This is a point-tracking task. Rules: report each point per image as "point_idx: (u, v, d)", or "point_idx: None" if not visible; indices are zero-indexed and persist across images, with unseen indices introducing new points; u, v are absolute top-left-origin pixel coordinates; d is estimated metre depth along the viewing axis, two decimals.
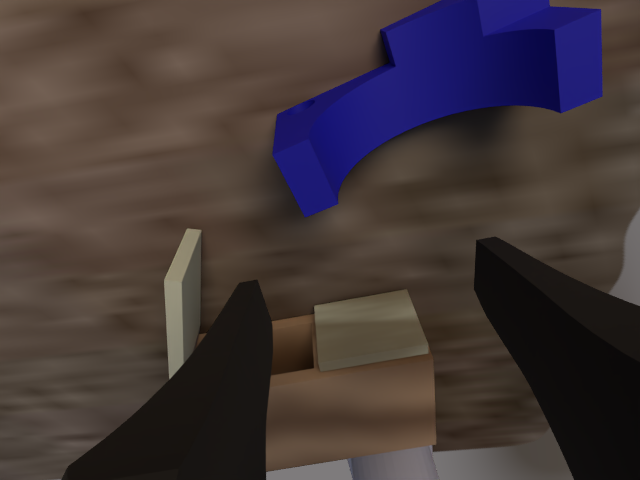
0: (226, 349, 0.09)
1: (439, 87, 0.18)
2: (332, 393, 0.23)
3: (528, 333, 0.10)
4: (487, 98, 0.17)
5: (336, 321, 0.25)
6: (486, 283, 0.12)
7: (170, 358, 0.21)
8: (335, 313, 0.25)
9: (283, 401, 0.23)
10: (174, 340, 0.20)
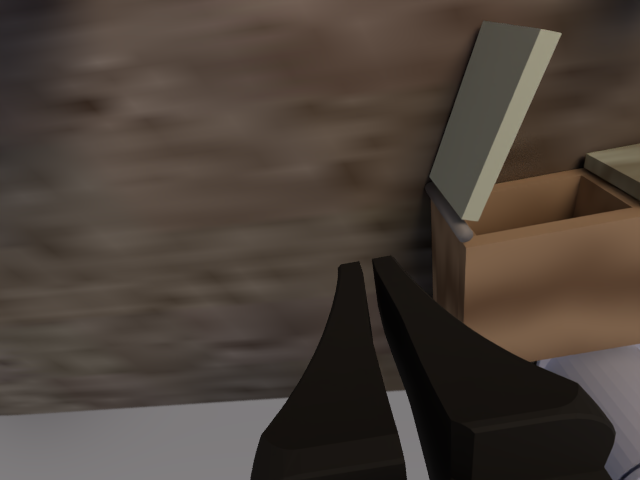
0: (362, 325, 0.09)
1: None
2: None
3: (402, 354, 0.10)
4: None
5: (637, 161, 0.20)
6: (380, 302, 0.12)
7: (482, 174, 0.16)
8: (626, 155, 0.20)
9: (589, 251, 0.18)
10: (502, 142, 0.16)
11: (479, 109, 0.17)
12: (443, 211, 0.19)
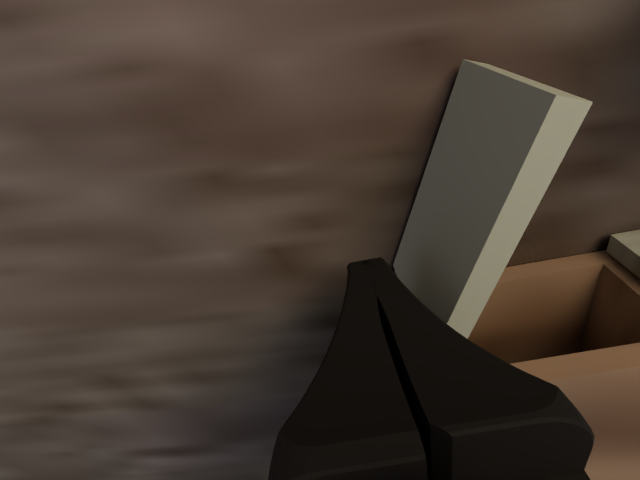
0: (374, 323, 0.09)
1: None
2: None
3: None
4: None
5: None
6: None
7: (459, 307, 0.10)
8: None
9: (620, 397, 0.12)
10: (489, 265, 0.10)
11: (456, 197, 0.11)
12: None
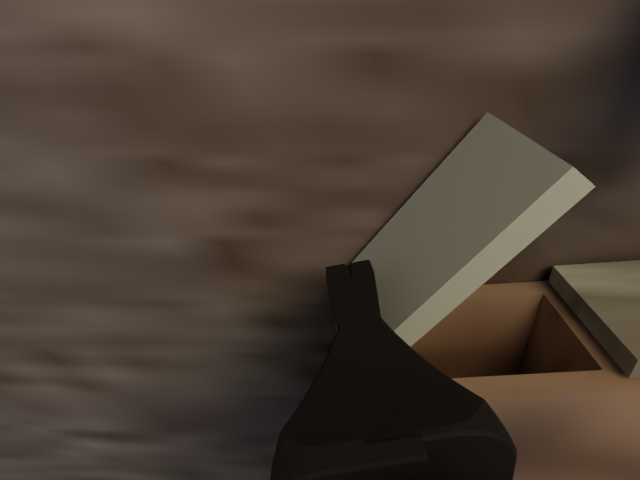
0: (376, 323, 0.09)
1: None
2: (628, 420, 0.12)
3: None
4: None
5: (618, 293, 0.14)
6: None
7: (406, 324, 0.11)
8: (604, 280, 0.15)
9: (534, 425, 0.13)
10: (450, 294, 0.10)
11: (438, 227, 0.11)
12: None
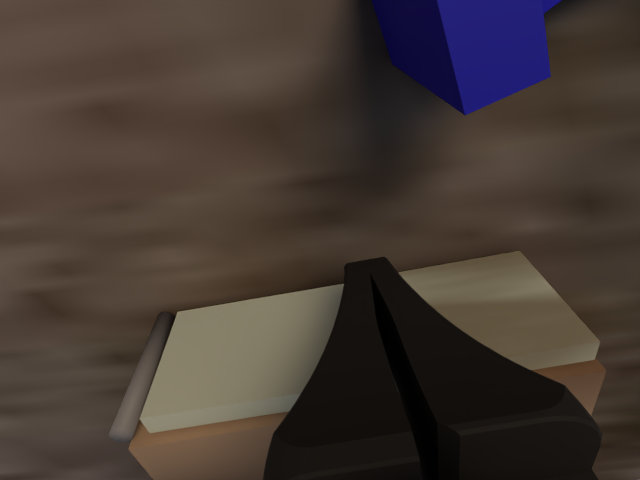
0: (371, 324, 0.09)
1: None
2: None
3: (394, 356, 0.10)
4: None
5: None
6: (373, 303, 0.12)
7: (208, 410, 0.12)
8: None
9: None
10: (255, 407, 0.12)
11: (278, 345, 0.14)
12: (140, 371, 0.14)
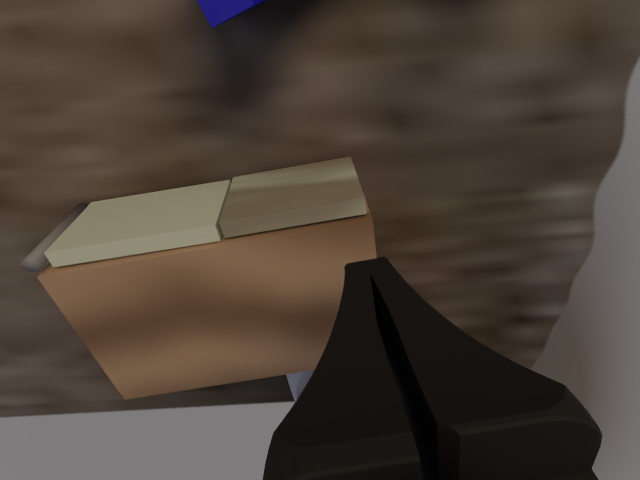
0: (371, 324, 0.09)
1: None
2: (242, 271, 0.18)
3: (394, 356, 0.10)
4: None
5: (255, 187, 0.19)
6: (373, 303, 0.12)
7: (93, 247, 0.17)
8: (256, 181, 0.20)
9: (178, 281, 0.18)
10: (127, 246, 0.17)
11: (155, 213, 0.18)
12: (53, 232, 0.19)
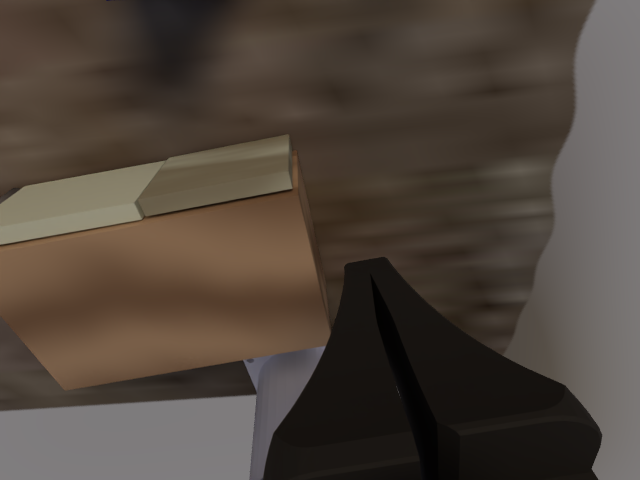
0: (371, 324, 0.09)
1: None
2: (168, 252, 0.17)
3: (394, 356, 0.10)
4: None
5: (186, 166, 0.18)
6: (373, 303, 0.12)
7: (9, 228, 0.16)
8: (189, 160, 0.19)
9: (102, 263, 0.17)
10: (45, 227, 0.16)
11: (80, 194, 0.18)
12: None
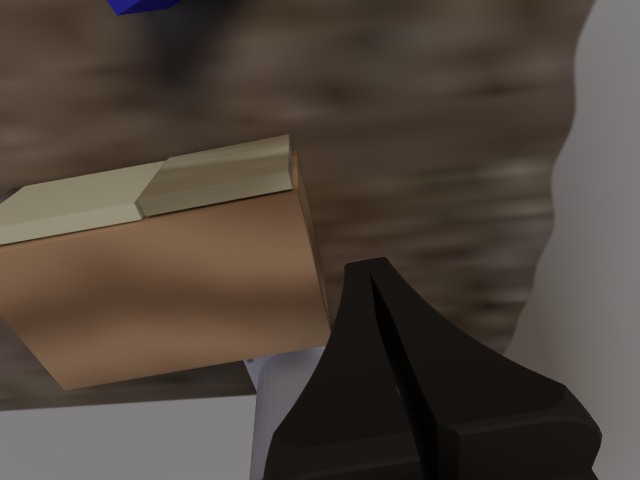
0: (371, 324, 0.09)
1: None
2: (168, 252, 0.17)
3: (394, 356, 0.10)
4: None
5: (186, 166, 0.18)
6: (373, 303, 0.12)
7: (9, 228, 0.16)
8: (189, 160, 0.19)
9: (102, 263, 0.17)
10: (45, 227, 0.16)
11: (80, 194, 0.18)
12: None
